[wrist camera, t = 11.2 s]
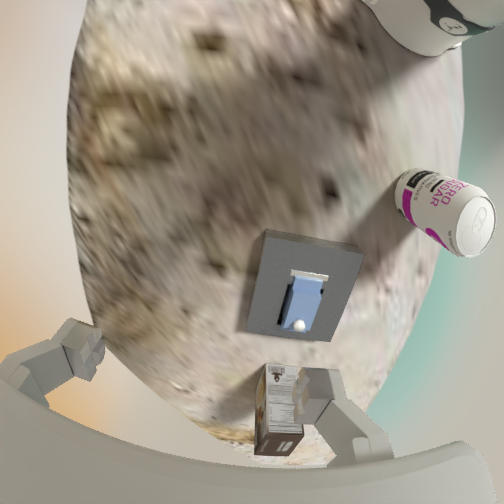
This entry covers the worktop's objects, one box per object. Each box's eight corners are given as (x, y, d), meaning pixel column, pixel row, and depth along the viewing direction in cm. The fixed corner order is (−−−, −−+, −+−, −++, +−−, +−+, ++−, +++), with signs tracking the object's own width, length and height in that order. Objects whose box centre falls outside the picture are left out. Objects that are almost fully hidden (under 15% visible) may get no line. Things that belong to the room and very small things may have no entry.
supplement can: (422, 227, 37) (479, 271, 23) (383, 206, 36) (440, 247, 22) (442, 182, 34) (507, 210, 20) (405, 157, 33) (471, 175, 19)
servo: (293, 267, 40) (297, 287, 35) (318, 271, 40) (326, 291, 35) (279, 316, 44) (281, 340, 38) (302, 319, 44) (307, 342, 39)
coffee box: (284, 392, 52) (288, 457, 38) (255, 389, 52) (253, 455, 37) (297, 365, 49) (305, 436, 34) (264, 361, 49) (264, 434, 34)
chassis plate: (265, 228, 38) (266, 236, 35) (358, 246, 39) (365, 255, 36) (246, 320, 45) (246, 332, 42) (326, 330, 45) (330, 342, 42)
